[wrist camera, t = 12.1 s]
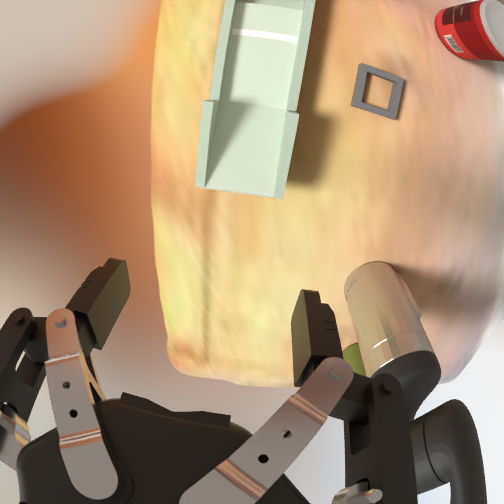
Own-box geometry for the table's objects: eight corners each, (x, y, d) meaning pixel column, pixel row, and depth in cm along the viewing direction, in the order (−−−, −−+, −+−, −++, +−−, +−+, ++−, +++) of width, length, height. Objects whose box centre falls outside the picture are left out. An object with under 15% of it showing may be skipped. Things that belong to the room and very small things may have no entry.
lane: (318, -41, 17) (328, -61, 11) (279, 184, 34) (281, 203, 29) (241, -51, 16) (236, -73, 11) (206, 174, 34) (194, 191, 28)
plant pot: (367, 325, 47) (382, 375, 38) (390, 349, 52) (403, 392, 42) (317, 353, 52) (323, 401, 43) (346, 373, 57) (353, 415, 47)
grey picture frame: (399, 79, 25) (404, 79, 24) (391, 118, 28) (395, 120, 27) (358, 64, 25) (362, 63, 24) (350, 105, 28) (353, 106, 27)
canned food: (476, 66, 21) (528, 72, 12) (434, 49, 21) (487, 46, 12) (472, 21, 17) (522, 18, 7) (429, 2, 17) (477, -13, 8)
